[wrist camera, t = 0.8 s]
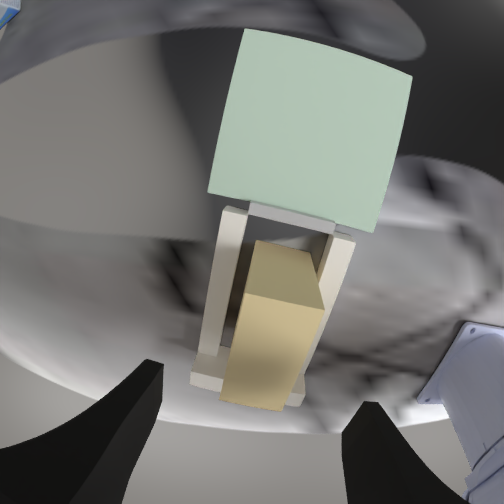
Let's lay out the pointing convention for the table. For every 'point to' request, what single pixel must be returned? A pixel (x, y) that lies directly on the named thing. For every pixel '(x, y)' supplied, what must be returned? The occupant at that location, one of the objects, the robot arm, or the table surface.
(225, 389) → the tan rectangular block
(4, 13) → the medicine box
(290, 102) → the mat
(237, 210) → the dispenser
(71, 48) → the table surface
